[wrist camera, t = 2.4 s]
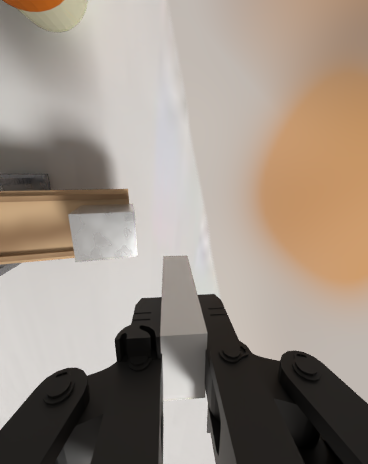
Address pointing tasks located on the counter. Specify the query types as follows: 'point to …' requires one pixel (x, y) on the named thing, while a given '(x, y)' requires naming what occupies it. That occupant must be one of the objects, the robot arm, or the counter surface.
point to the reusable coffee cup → (52, 12)
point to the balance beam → (45, 221)
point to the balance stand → (22, 184)
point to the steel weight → (103, 232)
